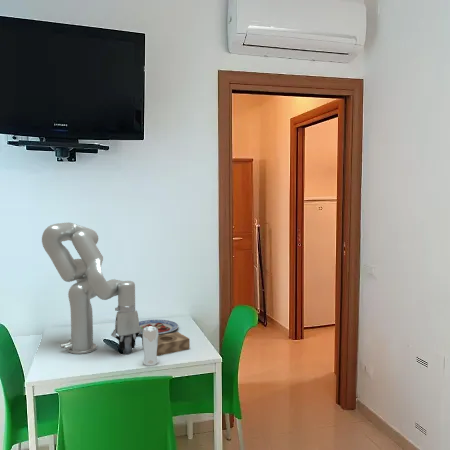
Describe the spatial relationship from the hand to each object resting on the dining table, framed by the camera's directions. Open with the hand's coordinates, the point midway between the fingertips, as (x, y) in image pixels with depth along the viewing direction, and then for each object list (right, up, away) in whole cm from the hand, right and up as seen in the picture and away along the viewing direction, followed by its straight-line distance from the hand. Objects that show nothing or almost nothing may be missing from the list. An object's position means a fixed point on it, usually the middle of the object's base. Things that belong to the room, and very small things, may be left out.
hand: (127, 348), depth 204 cm
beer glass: (+13, -3, -12) cm, 18 cm away
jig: (+17, -2, +5) cm, 18 cm away
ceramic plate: (+7, 0, +34) cm, 35 cm away
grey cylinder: (0, -2, 0) cm, 2 cm away
